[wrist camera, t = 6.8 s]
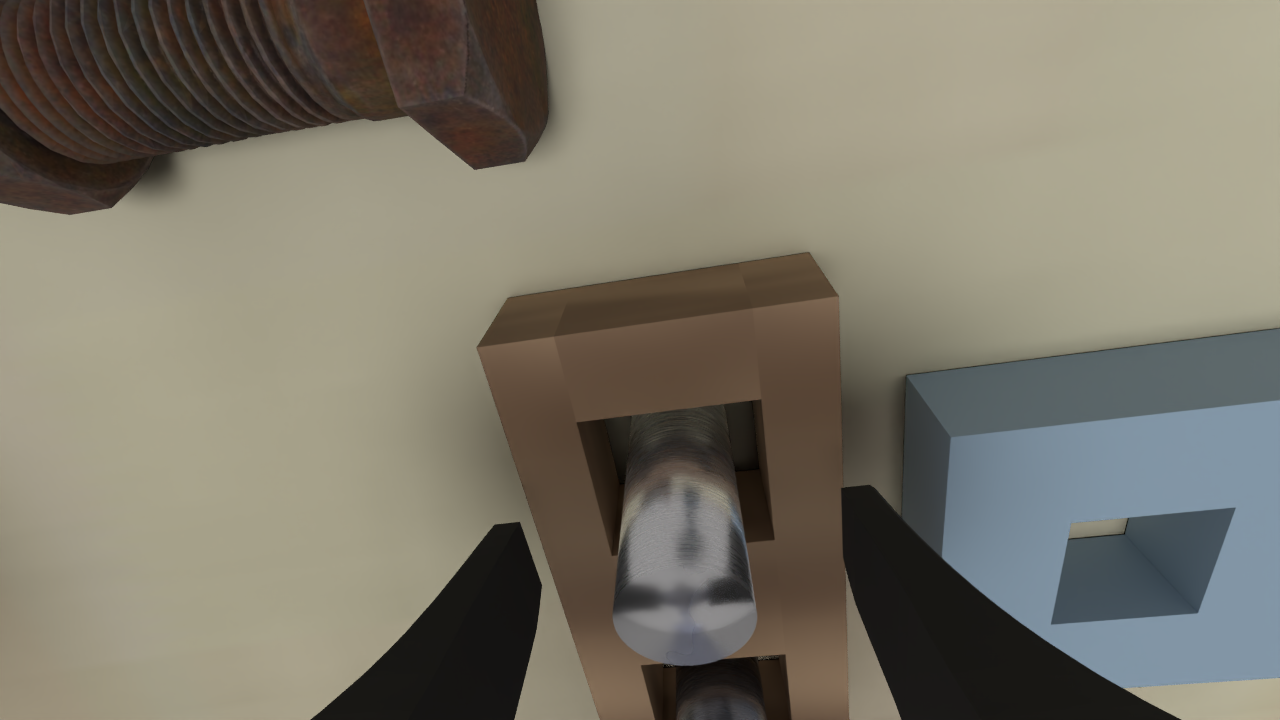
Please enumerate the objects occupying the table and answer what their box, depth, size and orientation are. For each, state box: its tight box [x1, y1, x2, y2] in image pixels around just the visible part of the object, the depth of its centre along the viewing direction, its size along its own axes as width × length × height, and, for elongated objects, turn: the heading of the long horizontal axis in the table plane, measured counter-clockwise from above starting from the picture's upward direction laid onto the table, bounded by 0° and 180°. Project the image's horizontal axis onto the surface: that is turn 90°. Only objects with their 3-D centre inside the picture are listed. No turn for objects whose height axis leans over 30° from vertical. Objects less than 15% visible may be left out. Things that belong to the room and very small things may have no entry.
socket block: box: [902, 329, 1280, 688], centre depth 17 cm, size 10×10×3 cm
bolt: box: [0, 0, 548, 215], centre depth 12 cm, size 6×5×15 cm
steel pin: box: [612, 404, 757, 666], centre depth 15 cm, size 3×3×7 cm
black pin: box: [676, 656, 767, 720], centre depth 19 cm, size 3×3×6 cm
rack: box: [477, 253, 849, 720], centre depth 19 cm, size 18×8×3 cm, turn 10°
